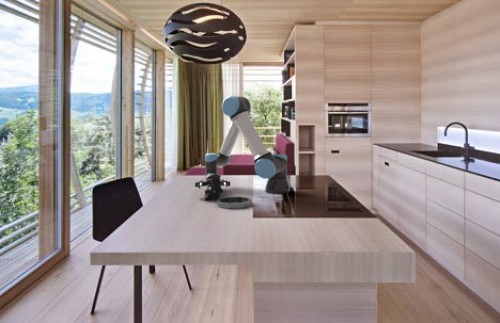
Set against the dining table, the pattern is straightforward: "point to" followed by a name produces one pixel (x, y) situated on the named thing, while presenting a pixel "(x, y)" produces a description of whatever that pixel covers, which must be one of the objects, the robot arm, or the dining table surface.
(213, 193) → the scope
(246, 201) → the dark grey octagonal bowl
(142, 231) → the dining table surface
